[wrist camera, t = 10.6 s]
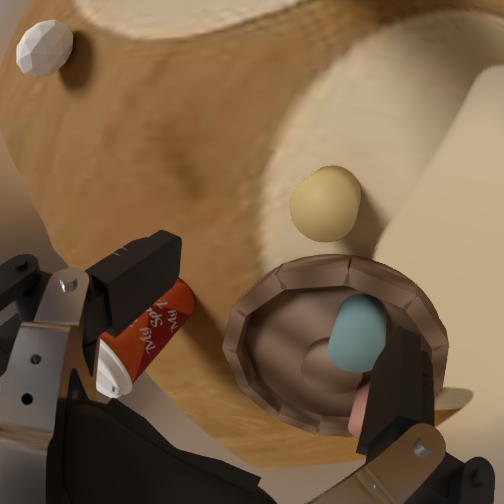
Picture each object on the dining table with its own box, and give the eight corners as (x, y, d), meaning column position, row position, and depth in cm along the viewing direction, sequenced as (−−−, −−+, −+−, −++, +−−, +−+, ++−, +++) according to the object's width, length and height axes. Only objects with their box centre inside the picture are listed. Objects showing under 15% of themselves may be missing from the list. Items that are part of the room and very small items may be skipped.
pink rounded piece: (367, 372, 27) (361, 410, 23) (403, 385, 26) (401, 422, 22) (349, 396, 29) (340, 432, 25) (383, 408, 28) (377, 443, 24)
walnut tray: (263, 216, 26) (250, 227, 24) (484, 308, 21) (492, 328, 18) (223, 373, 37) (212, 389, 35) (376, 434, 32) (373, 453, 29)
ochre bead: (315, 157, 23) (300, 166, 18) (369, 177, 22) (366, 190, 17) (300, 208, 25) (282, 227, 21) (350, 227, 24) (343, 252, 20)
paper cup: (212, 292, 32) (126, 380, 20) (192, 333, 36) (120, 412, 24) (156, 252, 33) (59, 317, 21) (143, 297, 37) (65, 361, 25)
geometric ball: (77, 62, 30) (26, 88, 28) (65, 15, 25) (12, 40, 22) (83, 59, 26) (22, 90, 23) (69, 4, 20) (6, 33, 17)
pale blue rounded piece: (349, 285, 25) (340, 320, 20) (395, 304, 24) (395, 342, 19) (331, 323, 27) (319, 360, 23) (373, 341, 26) (368, 379, 21)
